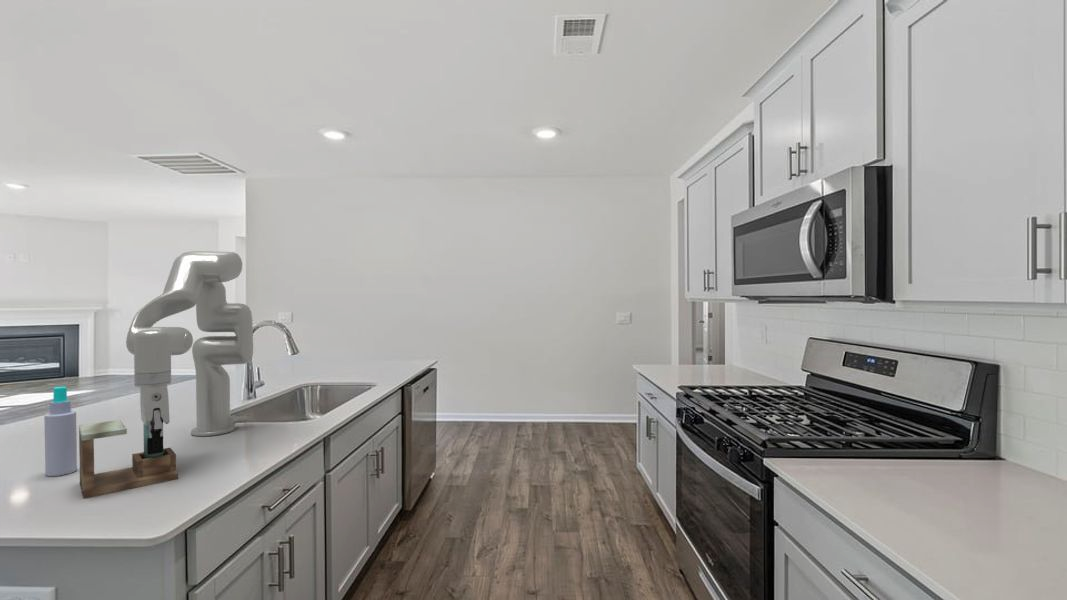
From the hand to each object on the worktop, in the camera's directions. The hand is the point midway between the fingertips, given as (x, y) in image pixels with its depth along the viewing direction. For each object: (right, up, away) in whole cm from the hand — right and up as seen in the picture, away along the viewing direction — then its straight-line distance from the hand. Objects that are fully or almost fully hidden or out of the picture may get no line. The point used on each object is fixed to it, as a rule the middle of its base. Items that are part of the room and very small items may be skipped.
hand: (153, 450), depth 132 cm
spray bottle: (-25, -7, +2) cm, 26 cm away
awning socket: (-4, -7, -3) cm, 8 cm away
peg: (0, -2, 0) cm, 2 cm away
